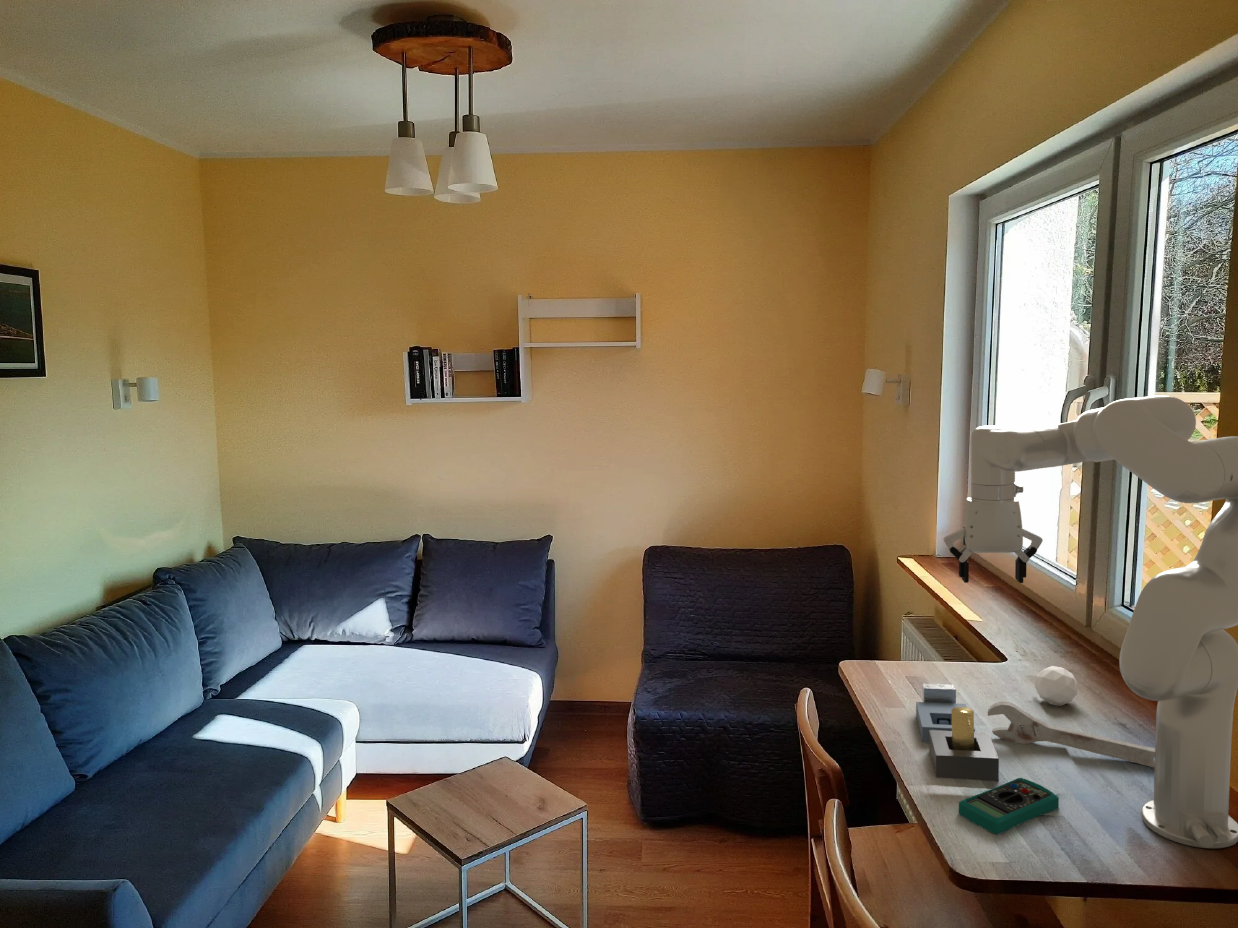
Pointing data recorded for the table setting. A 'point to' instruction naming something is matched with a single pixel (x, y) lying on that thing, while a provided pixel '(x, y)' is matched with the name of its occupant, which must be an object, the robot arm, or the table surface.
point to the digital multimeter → (1008, 805)
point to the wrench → (1065, 736)
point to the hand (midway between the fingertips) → (992, 580)
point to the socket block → (934, 717)
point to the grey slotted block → (963, 757)
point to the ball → (1056, 685)
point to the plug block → (939, 696)
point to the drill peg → (962, 729)
